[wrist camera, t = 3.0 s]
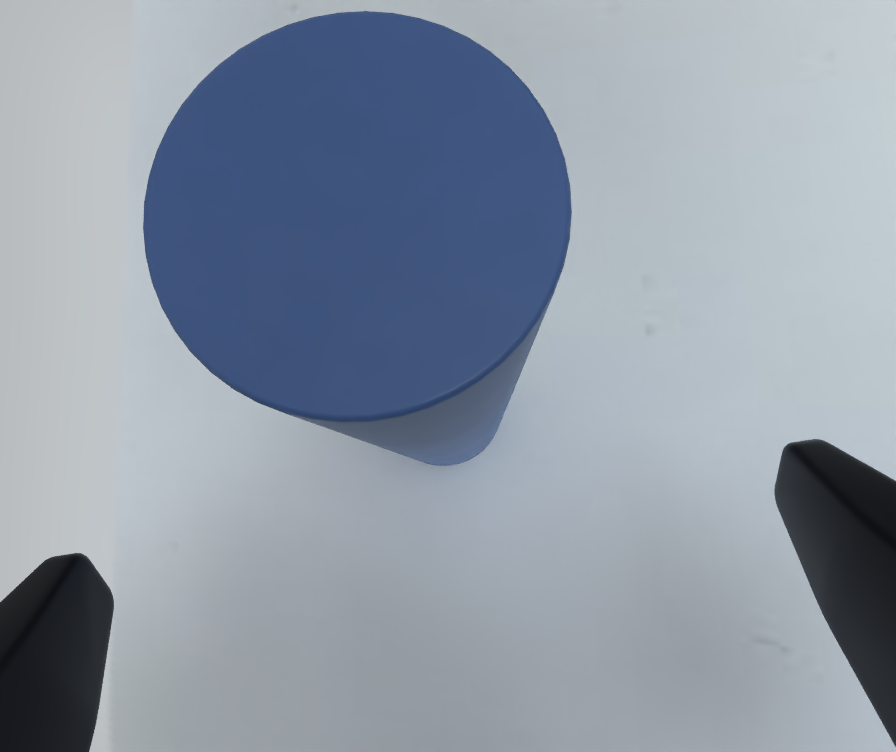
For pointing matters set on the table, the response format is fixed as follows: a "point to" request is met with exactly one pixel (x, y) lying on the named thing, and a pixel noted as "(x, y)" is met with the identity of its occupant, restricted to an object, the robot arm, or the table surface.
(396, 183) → the peg
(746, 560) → the table surface
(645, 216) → the table surface
